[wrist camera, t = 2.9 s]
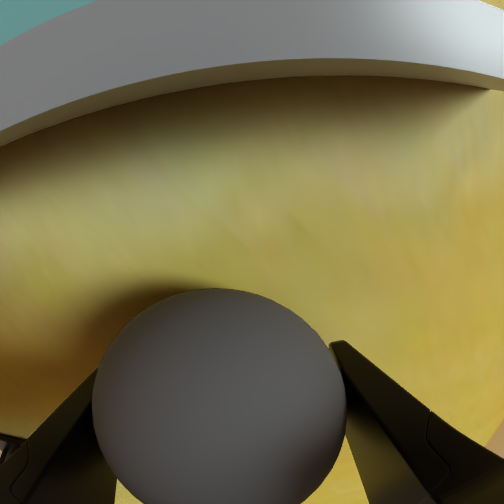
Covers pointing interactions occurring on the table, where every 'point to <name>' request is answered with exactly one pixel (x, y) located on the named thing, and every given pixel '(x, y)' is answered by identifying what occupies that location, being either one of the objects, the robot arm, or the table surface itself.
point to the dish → (31, 14)
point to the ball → (219, 402)
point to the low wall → (235, 50)
